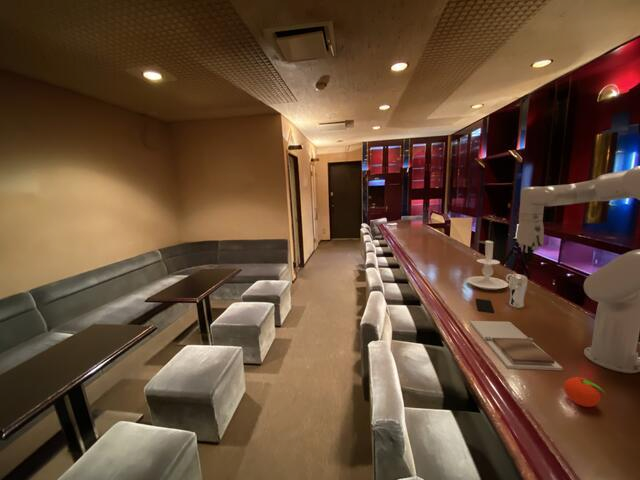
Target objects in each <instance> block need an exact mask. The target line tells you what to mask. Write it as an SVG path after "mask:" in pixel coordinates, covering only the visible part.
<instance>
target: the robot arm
mask: <svg viewBox="0 0 640 480" xmlns="http://www.w3.org/2000/svg"><path fill="white" fill-rule="evenodd" d="M632 198H633V199H637V201H638V200H639V201H640V165H637V166H634V167H632V168H631V169H630V168H629V169H626V170H620V171H615V172H609V173H603V174H601V175H599V176H597V178H595V179H591V180H586V181H582V182H576V183H575V182H574V183H570V184H557V185H546V186H525V187H523V188H522V189H521V191H520V200H519V201H520V202H519V204H520V205H519V212H518V214H519V215H518V225H517V230H516V242H517V243H518V245H519V246H520V248H521V258H520V259H521V262H524V263H532V262H533V257H534V256H533V254H534V253H535V251H538V250H539V247H543V246H544V241H545V240H544V239H545V238H544V236H545V235H544V234H545V233H544V232H545V229H544V227H545V226H544V222H543V218H544V209H545V207H556V206H567V205H568V206H569V205H573V204H574V205H575V204H583V203H589V202H590V203H591V202H609V201H617V200H623V199H624V200H626V199H632ZM583 290H584V293H585V295H587V296H588V298H590V299H591V300H592V301H595V302H597V303H598V304H597V308H596V313H595V320H594V327H593V332H592V333H593V335H592V340H591V346H588V347H586V348H584V351H583V355H584V356H585V357H586V358H587V359H588V360H589V361H590V362H592V363H594V364H596V365H597V366H600V367H603V368H604V369H605V368H606V369H608V370H611V371H615V372H620V373H623V374H624V373H625V374H636V373H639V372H640V356H639V352H638V351H637V347H638V342H639V335H640V248H639V249H633V250H630V251H627V252H625V253H623V254H621V255H619V256H617V257H616V258H614V259H613V260H611V261H610V262H608V263H606V264H605V265H604V266H601V267H600V268H599V269H597V270H595V271H594V272H592V273H591V274H589V275H588V276H587V277H586V278H585V280H584V283H583Z"/></svg>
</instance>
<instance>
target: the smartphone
mask: <svg viewBox="0 0 640 480" xmlns="http://www.w3.org/2000/svg"><path fill="white" fill-rule="evenodd" d="M475 304H476V310H477V312H481V313H488V314H495V309H494V306H493V303H492V300H490V299H484V298H483V299H482V298H475Z"/></svg>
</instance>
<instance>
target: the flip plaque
mask: <svg viewBox="0 0 640 480" xmlns="http://www.w3.org/2000/svg"><path fill="white" fill-rule="evenodd" d="M492 341H493V342H494V343H495V344H496V345H497V346H498V347H499V348H500V349H501V350H502V351H503V352H504V353H505V354H506V355H507V357H508V358H509V359H510V360H511V361H512V362H513V363H538V364H554V362H556V360H554V358H552V357H551V356H550V355H549V354H547V353H546V352H545V351H544V350H543V349H542V348H540V347H539V346H538V345H537V344H536V345H537V346H538V347H539V348H540V349H539V348H538V347H537V346H536V345H534V344H533V343H532V342H531V341H529V340H528V339H523V338H492ZM541 349H542V350H543V351H544V352H545V353H544V352H543V351H542V350H541ZM548 355H549V356H550V357H549V356H548Z"/></svg>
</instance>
